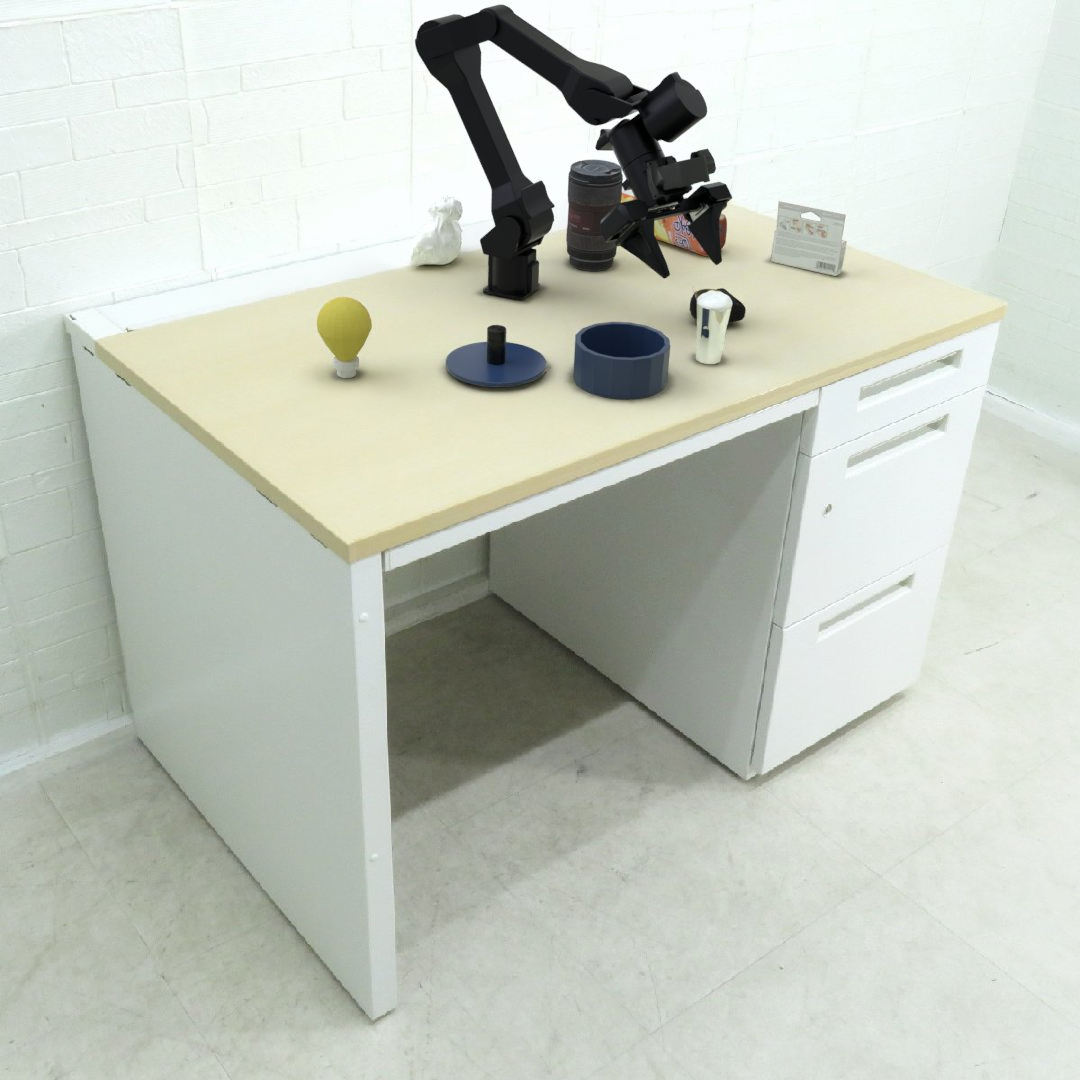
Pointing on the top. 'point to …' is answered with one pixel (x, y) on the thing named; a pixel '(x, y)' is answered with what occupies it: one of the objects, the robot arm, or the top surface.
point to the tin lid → (496, 361)
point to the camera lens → (591, 212)
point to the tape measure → (736, 310)
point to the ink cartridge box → (809, 239)
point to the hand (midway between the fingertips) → (693, 270)
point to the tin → (621, 360)
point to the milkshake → (711, 325)
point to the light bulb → (344, 332)
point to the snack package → (679, 229)
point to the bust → (439, 234)
